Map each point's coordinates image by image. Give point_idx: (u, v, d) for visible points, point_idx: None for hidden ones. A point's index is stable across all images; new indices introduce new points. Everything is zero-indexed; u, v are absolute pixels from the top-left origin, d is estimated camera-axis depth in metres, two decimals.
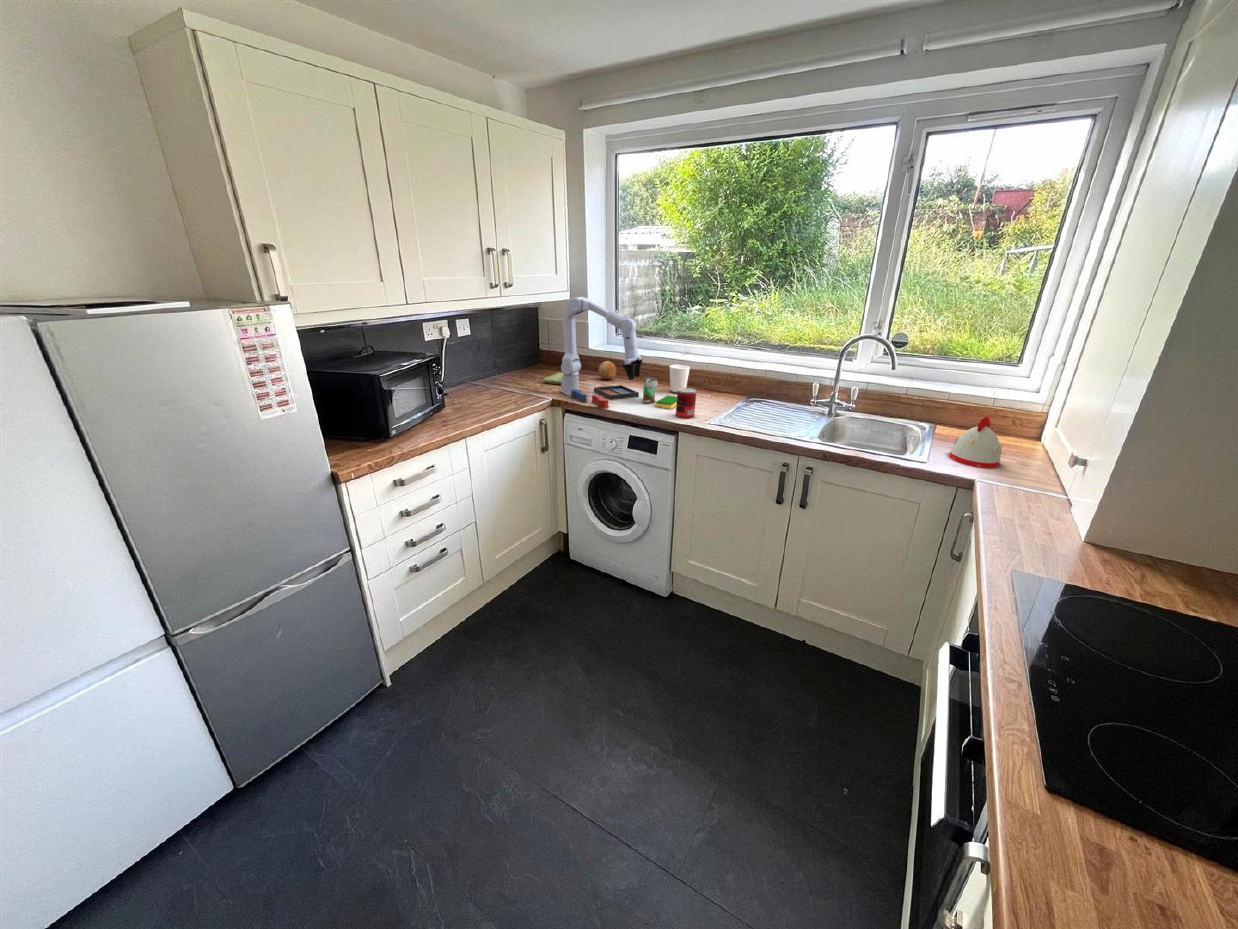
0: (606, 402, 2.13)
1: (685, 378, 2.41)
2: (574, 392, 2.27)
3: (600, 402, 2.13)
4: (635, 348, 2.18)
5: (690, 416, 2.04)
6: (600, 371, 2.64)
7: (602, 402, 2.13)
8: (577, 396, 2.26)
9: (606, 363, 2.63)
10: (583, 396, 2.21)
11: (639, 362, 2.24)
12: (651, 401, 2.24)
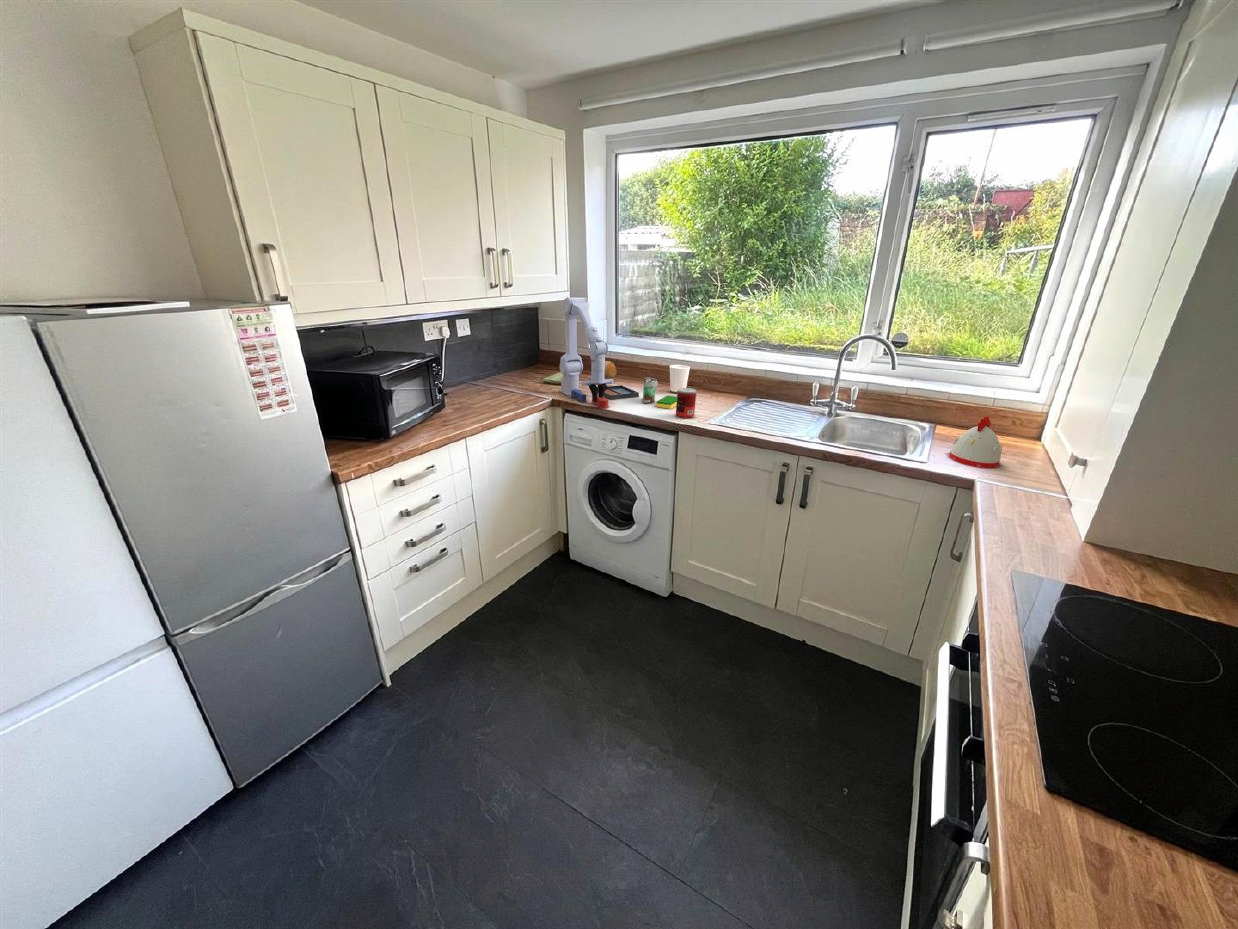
0: (606, 402, 2.13)
1: (685, 378, 2.41)
2: (574, 392, 2.27)
3: (600, 402, 2.13)
4: (598, 372, 2.12)
5: (690, 416, 2.04)
6: None
7: (602, 402, 2.13)
8: (577, 396, 2.26)
9: (606, 363, 2.63)
10: (583, 396, 2.21)
11: (602, 387, 2.16)
12: (651, 401, 2.24)
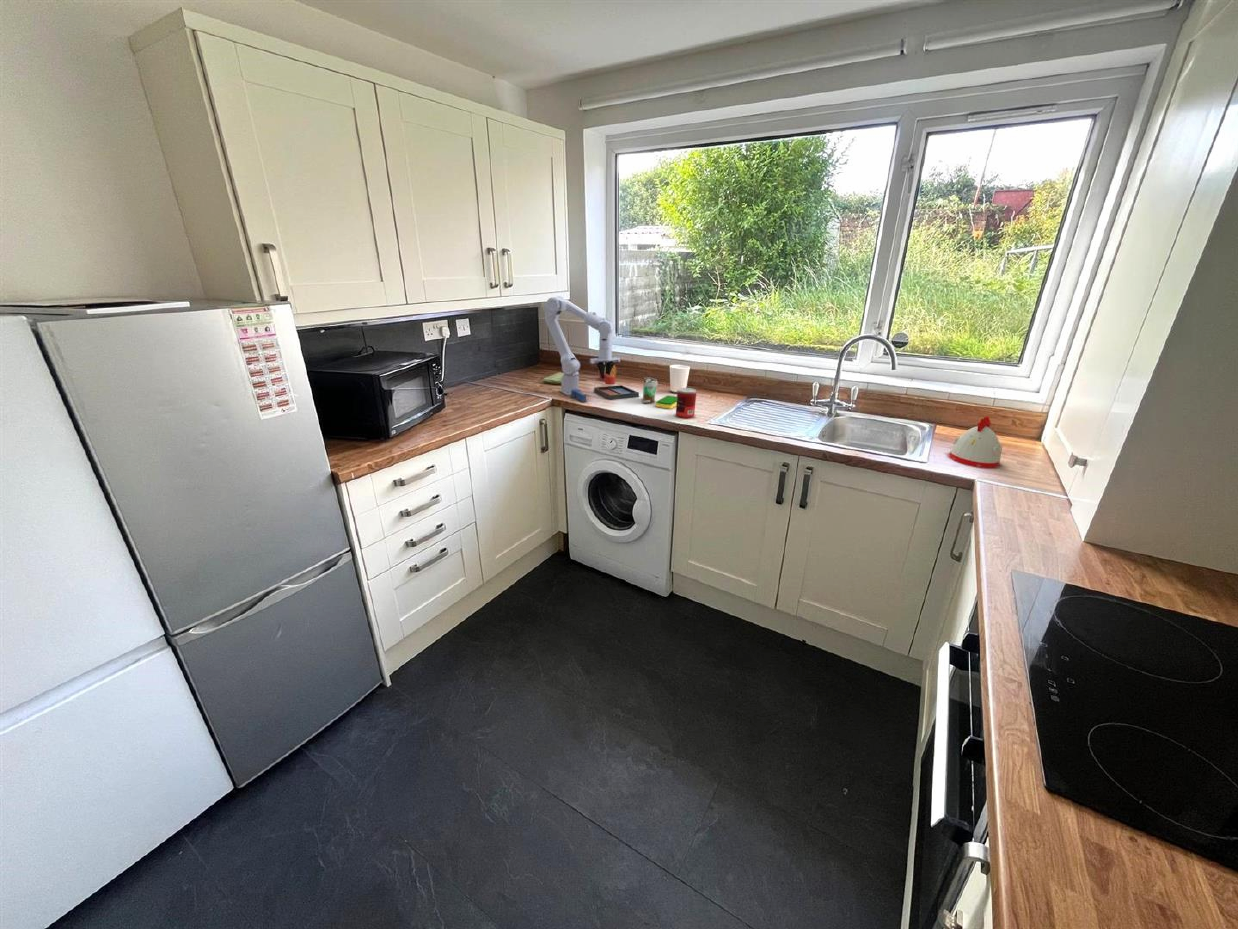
0: (613, 378, 2.25)
1: (685, 378, 2.41)
2: (574, 392, 2.27)
3: (607, 378, 2.25)
4: (605, 350, 2.24)
5: (690, 416, 2.04)
6: None
7: (609, 378, 2.25)
8: (577, 396, 2.26)
9: None
10: (583, 396, 2.21)
11: (609, 365, 2.29)
12: (651, 401, 2.24)
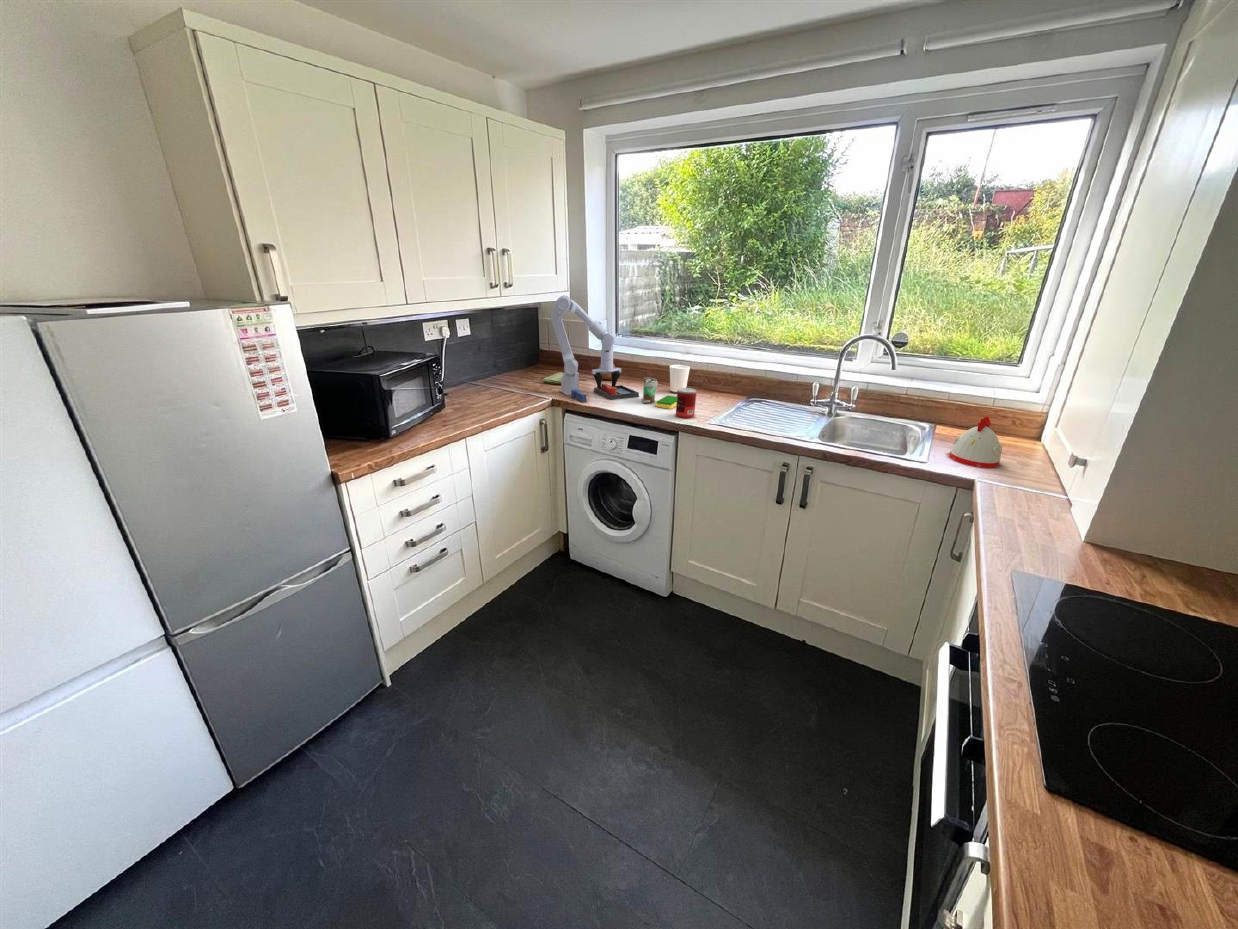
0: (615, 390, 2.32)
1: (685, 378, 2.41)
2: (574, 392, 2.27)
3: (609, 390, 2.31)
4: (607, 361, 2.31)
5: (690, 416, 2.04)
6: None
7: (611, 390, 2.31)
8: (577, 396, 2.26)
9: None
10: (583, 396, 2.21)
11: (615, 375, 2.36)
12: (651, 401, 2.24)
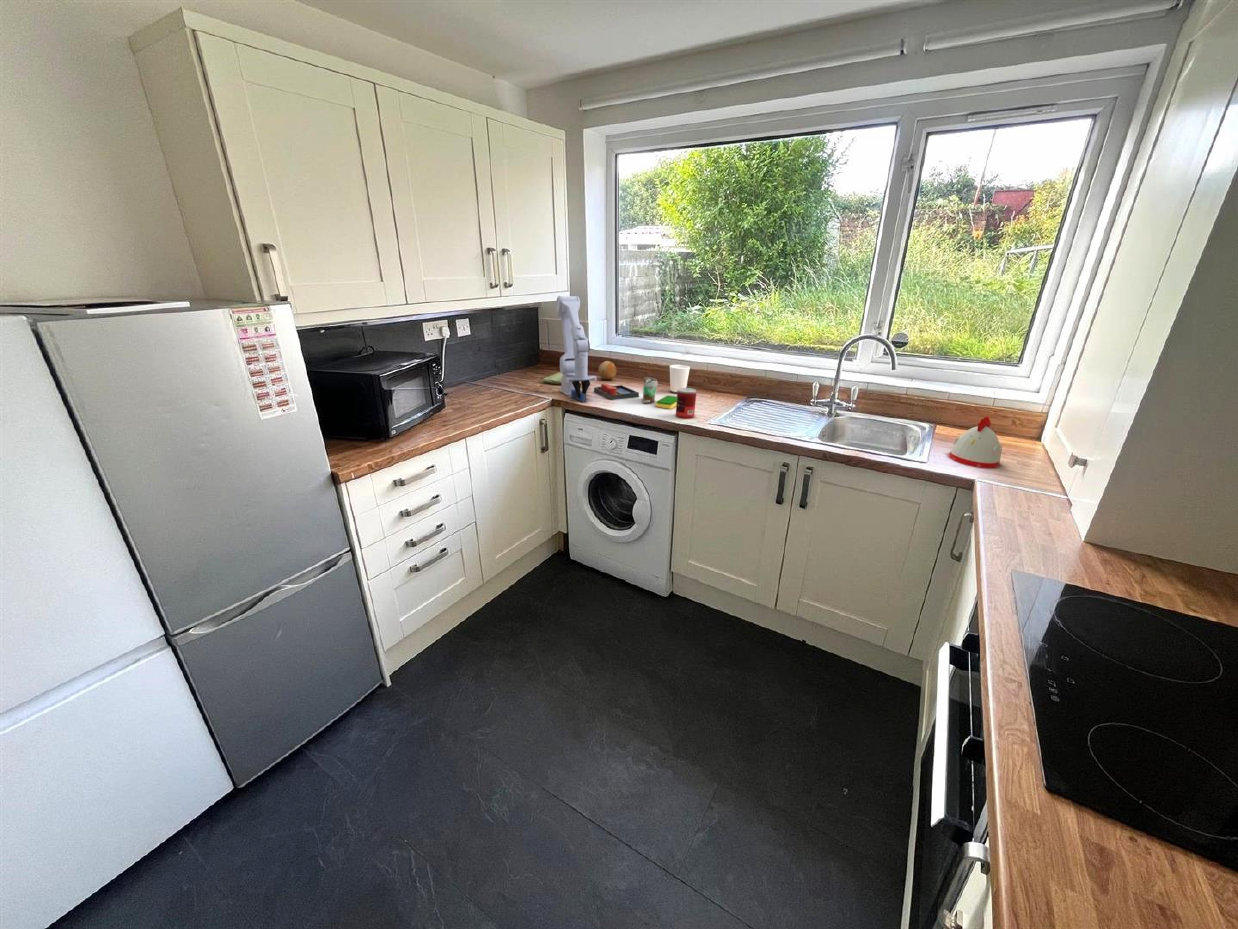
0: (615, 390, 2.32)
1: (685, 378, 2.41)
2: (574, 392, 2.27)
3: (609, 390, 2.31)
4: (580, 369, 2.18)
5: (690, 416, 2.04)
6: (600, 371, 2.64)
7: (611, 390, 2.31)
8: None
9: (606, 363, 2.63)
10: (583, 396, 2.21)
11: (585, 384, 2.22)
12: (651, 401, 2.24)
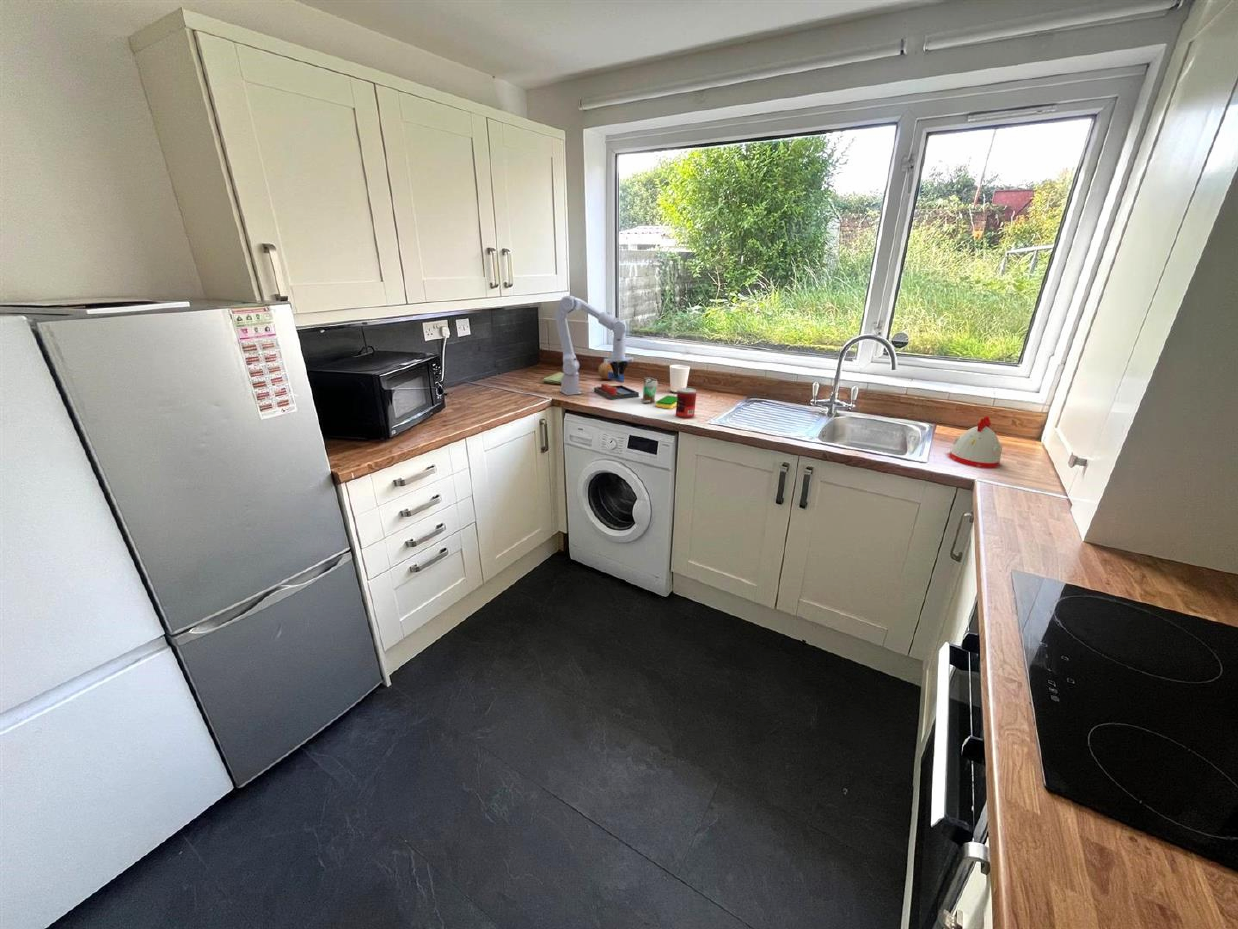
0: (615, 390, 2.32)
1: (685, 378, 2.41)
2: (611, 373, 2.35)
3: (609, 390, 2.31)
4: (619, 350, 2.25)
5: (690, 416, 2.04)
6: (600, 371, 2.64)
7: (611, 390, 2.31)
8: None
9: None
10: (621, 377, 2.29)
11: (622, 365, 2.29)
12: (651, 401, 2.24)
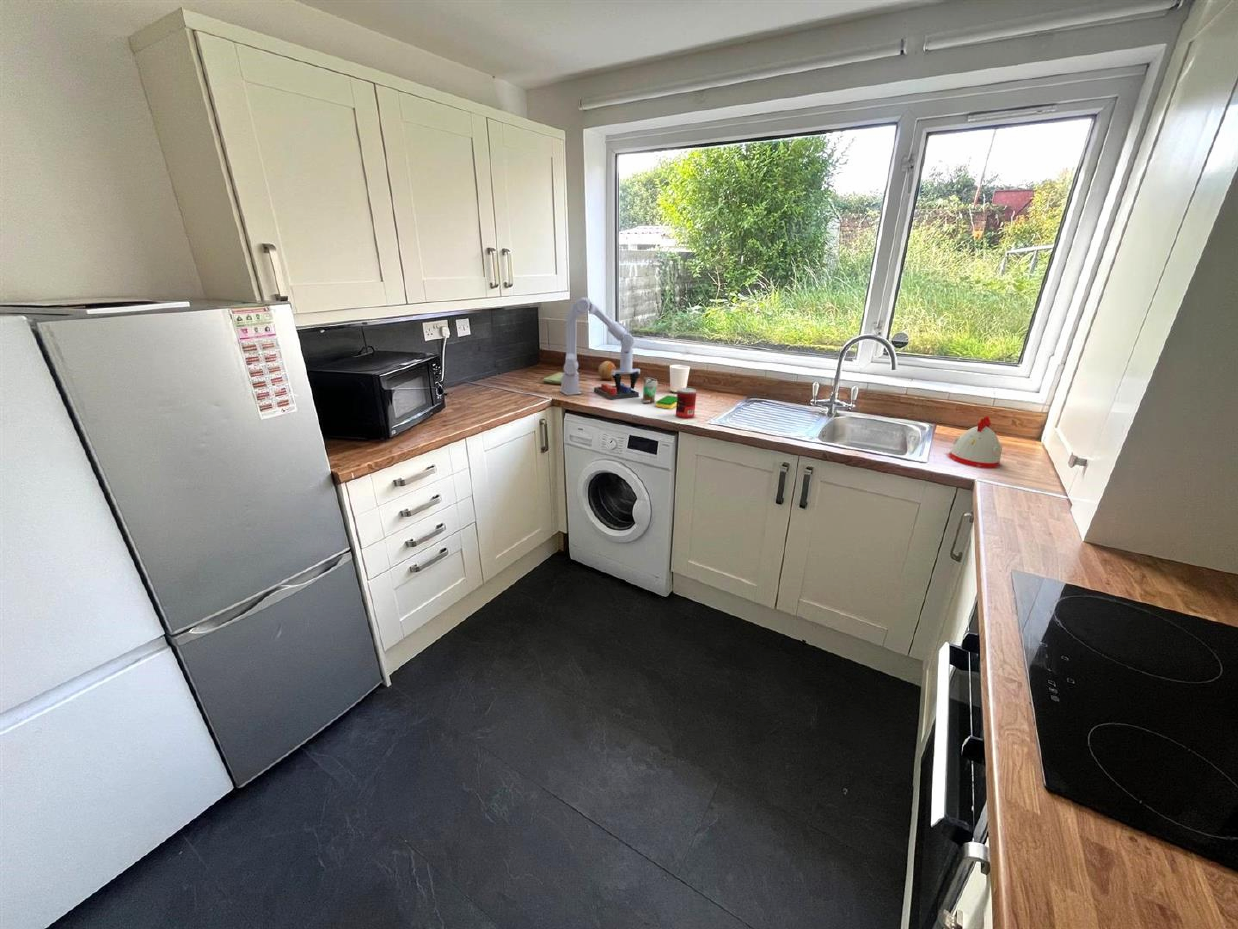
0: (615, 390, 2.32)
1: (685, 378, 2.41)
2: None
3: (609, 390, 2.31)
4: (626, 362, 2.30)
5: (690, 416, 2.04)
6: (600, 371, 2.64)
7: (611, 390, 2.31)
8: (622, 389, 2.38)
9: (606, 363, 2.63)
10: (628, 389, 2.34)
11: (634, 376, 2.35)
12: (651, 401, 2.24)
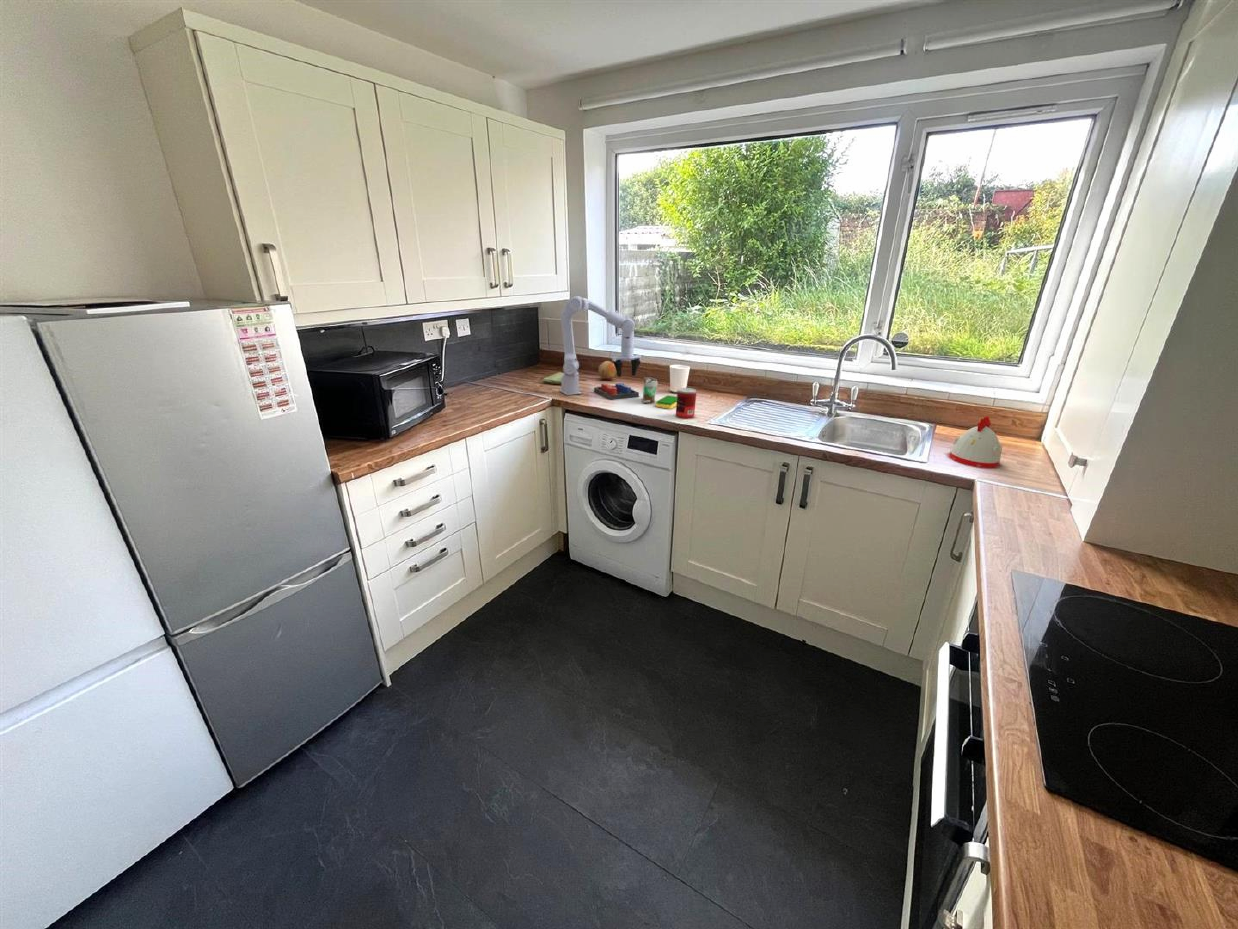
0: (615, 390, 2.32)
1: (685, 378, 2.41)
2: (618, 385, 2.39)
3: (609, 390, 2.31)
4: (627, 348, 2.26)
5: (690, 416, 2.04)
6: (600, 371, 2.64)
7: (611, 390, 2.31)
8: (622, 389, 2.38)
9: (606, 363, 2.63)
10: (628, 389, 2.34)
11: (635, 362, 2.31)
12: (651, 401, 2.24)
